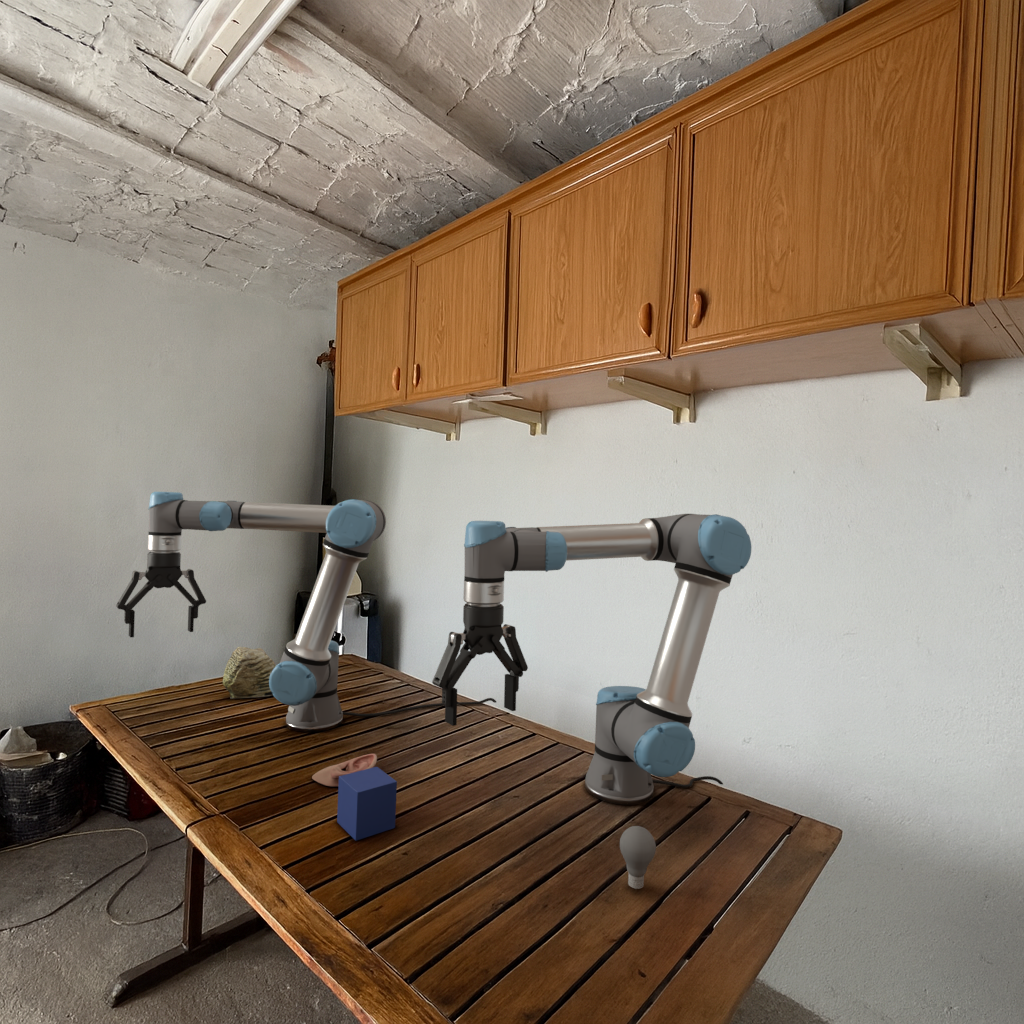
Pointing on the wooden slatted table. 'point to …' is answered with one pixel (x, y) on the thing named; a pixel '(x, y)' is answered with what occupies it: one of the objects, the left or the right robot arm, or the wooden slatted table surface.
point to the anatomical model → (344, 769)
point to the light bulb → (637, 853)
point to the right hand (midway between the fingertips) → (481, 716)
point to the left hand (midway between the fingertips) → (161, 633)
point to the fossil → (248, 673)
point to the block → (366, 803)
